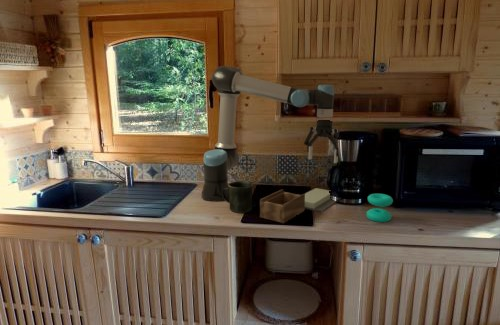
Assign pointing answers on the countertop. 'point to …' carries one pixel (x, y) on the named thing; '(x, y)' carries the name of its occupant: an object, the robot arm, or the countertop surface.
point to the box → (282, 206)
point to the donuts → (377, 213)
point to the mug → (239, 196)
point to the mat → (322, 205)
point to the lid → (316, 197)
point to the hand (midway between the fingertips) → (322, 160)
